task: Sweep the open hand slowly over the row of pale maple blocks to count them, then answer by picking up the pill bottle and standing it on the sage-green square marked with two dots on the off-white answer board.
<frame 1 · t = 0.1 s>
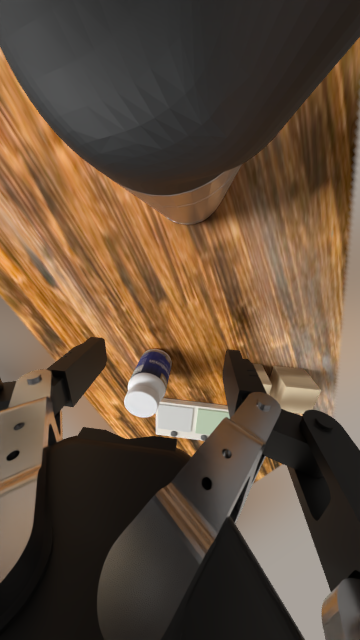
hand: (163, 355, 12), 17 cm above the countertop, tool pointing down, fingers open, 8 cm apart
maple block A: (244, 374, 33), on the countertop
pill bottle: (156, 360, 34), on the countertop
maple block B: (284, 378, 32), on the countertop
answer board: (213, 421, 38), on the countertop
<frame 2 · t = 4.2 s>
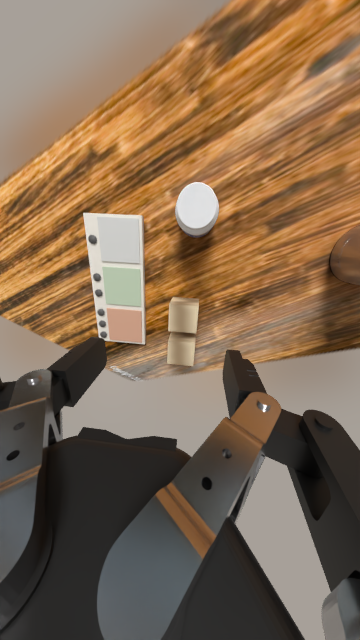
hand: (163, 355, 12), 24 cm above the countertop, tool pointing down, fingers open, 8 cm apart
maple block A: (184, 310, 36), on the countertop
pill bottle: (197, 219, 30), on the countertop
maple block B: (182, 341, 39), on the countertop
answer board: (119, 285, 35), on the countertop
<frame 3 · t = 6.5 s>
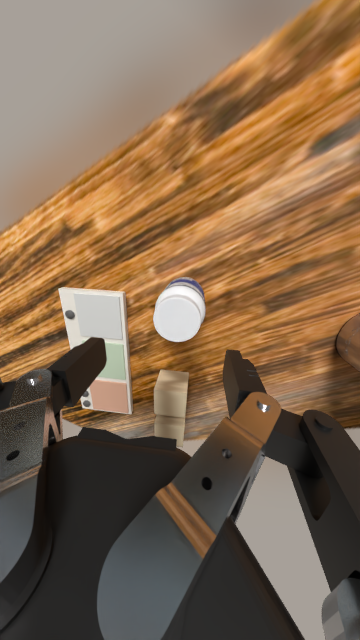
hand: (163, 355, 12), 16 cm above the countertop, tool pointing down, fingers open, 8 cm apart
maple block A: (174, 382, 33), on the countertop
pill bottle: (184, 295, 27), on the countertop
maple block B: (173, 410, 35), on the countertop
answer board: (102, 356, 32), on the countertop
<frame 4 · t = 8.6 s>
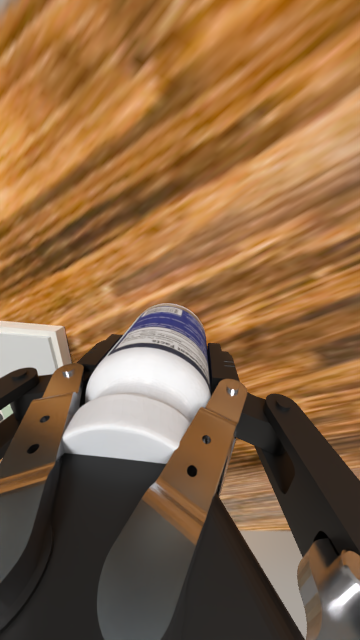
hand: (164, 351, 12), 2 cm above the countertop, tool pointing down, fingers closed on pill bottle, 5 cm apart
pill bottle: (170, 334, 15), on the countertop, touching gripper
answer board: (41, 421, 20), on the countertop
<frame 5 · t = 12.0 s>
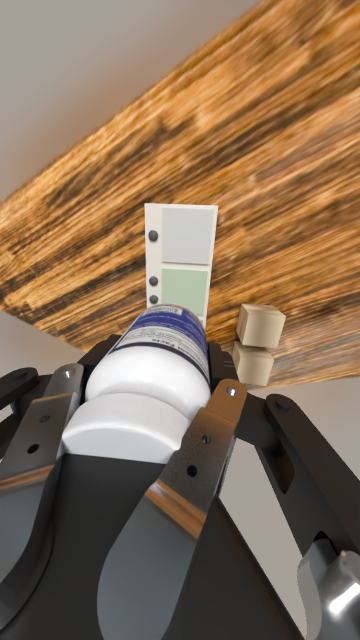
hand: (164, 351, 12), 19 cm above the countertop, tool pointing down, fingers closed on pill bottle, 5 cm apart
maple block A: (253, 318, 31), on the countertop
pill bottle: (170, 333, 15), point 16 cm above the countertop, touching gripper
maple block B: (246, 354, 33), on the countertop
answer board: (177, 290, 30), on the countertop
when the fingers open (5 cm above the countertop, at t = 15.4 s): pill bottle drops 1 cm, resting on answer board.
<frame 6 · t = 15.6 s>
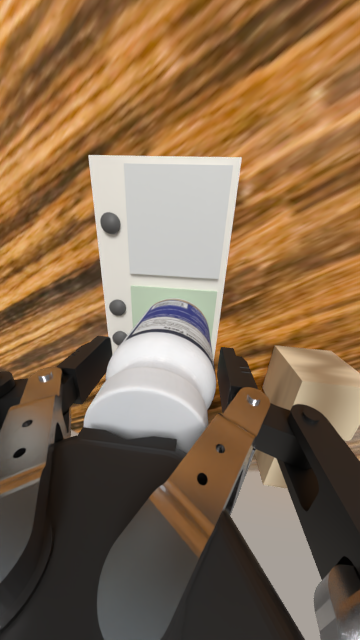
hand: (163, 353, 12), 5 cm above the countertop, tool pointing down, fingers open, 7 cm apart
maple block A: (294, 369, 18), on the countertop
pill bottle: (176, 327, 16), point 1 cm above the countertop, touching answer board
maple block B: (276, 421, 20), on the countertop
answer board: (163, 322, 17), on the countertop
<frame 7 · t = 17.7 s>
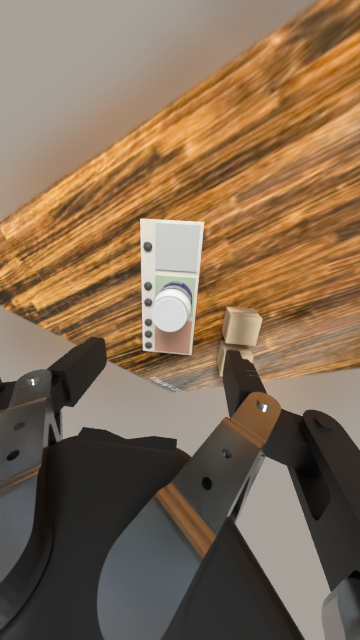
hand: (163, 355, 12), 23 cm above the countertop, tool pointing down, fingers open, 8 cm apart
maple block A: (237, 320, 35), on the countertop
pill bottle: (176, 296, 33), point 1 cm above the countertop, touching answer board
maple block B: (231, 351, 37), on the countertop
answer board: (169, 294, 34), on the countertop
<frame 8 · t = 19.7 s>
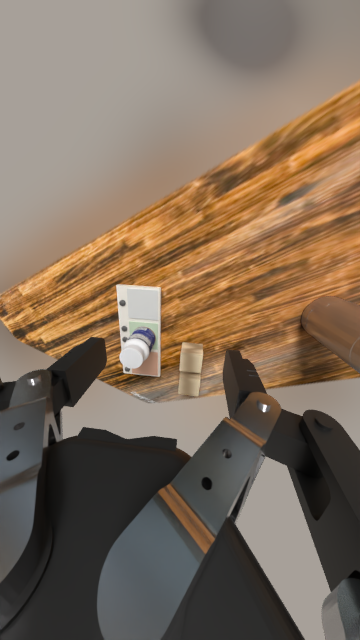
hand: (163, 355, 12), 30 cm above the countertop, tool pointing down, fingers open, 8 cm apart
maple block A: (191, 351, 46), on the countertop
pill bottle: (145, 335, 45), point 1 cm above the countertop, touching answer board
maple block B: (189, 374, 49), on the countertop
answer board: (141, 333, 46), on the countertop
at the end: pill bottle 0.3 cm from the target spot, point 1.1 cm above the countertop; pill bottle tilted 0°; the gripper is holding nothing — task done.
